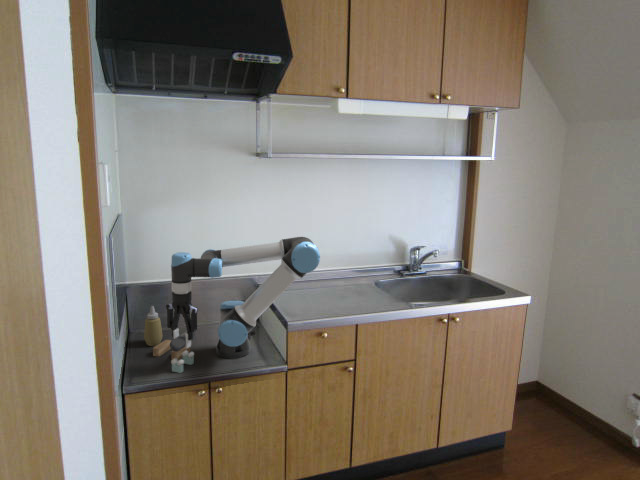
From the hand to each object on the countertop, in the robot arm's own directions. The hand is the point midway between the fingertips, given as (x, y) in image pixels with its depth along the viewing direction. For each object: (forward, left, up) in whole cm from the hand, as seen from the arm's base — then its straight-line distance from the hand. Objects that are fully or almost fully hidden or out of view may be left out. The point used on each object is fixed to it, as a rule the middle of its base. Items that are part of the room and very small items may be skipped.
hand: (182, 345), depth 182 cm
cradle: (0, 0, -9) cm, 9 cm away
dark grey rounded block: (-1, -1, 0) cm, 1 cm away
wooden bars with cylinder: (+11, -9, -9) cm, 17 cm away
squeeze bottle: (+25, -14, -10) cm, 30 cm away
